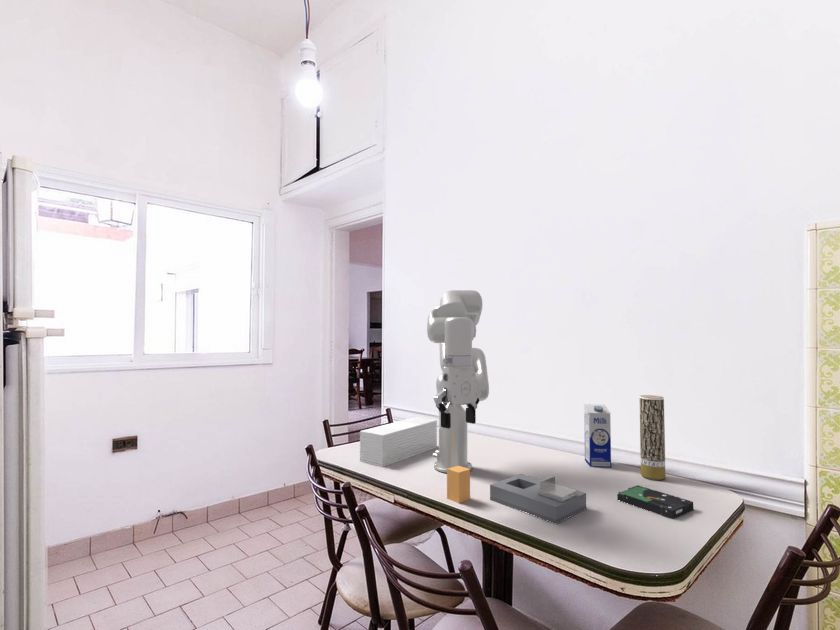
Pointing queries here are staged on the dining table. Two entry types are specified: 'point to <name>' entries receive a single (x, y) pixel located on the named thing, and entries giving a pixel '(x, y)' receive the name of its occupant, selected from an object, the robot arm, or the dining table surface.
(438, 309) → the robot arm
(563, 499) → the plate
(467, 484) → the plug
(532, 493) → the socket block
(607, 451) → the milk carton
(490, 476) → the dining table surface
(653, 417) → the paper tube
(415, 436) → the stack of papers
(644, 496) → the disk drive
